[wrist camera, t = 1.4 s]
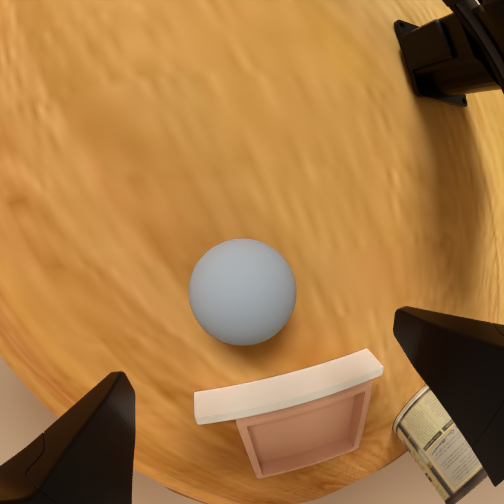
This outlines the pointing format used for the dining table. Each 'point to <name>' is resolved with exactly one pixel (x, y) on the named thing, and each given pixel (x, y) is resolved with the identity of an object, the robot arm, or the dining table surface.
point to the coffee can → (438, 446)
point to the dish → (306, 431)
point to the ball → (242, 292)
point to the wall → (285, 389)
